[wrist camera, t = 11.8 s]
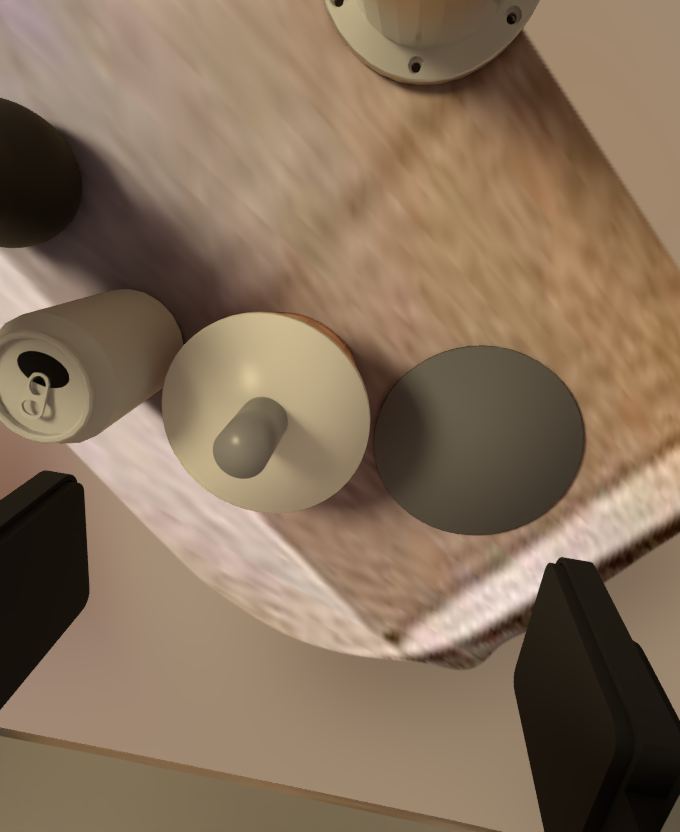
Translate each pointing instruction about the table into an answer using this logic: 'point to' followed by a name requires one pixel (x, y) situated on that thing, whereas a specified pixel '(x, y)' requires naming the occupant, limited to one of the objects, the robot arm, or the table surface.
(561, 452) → the mat
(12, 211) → the cola bottle
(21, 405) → the can
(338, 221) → the table surface
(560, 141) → the table surface
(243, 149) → the table surface
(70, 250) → the table surface
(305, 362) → the lid
